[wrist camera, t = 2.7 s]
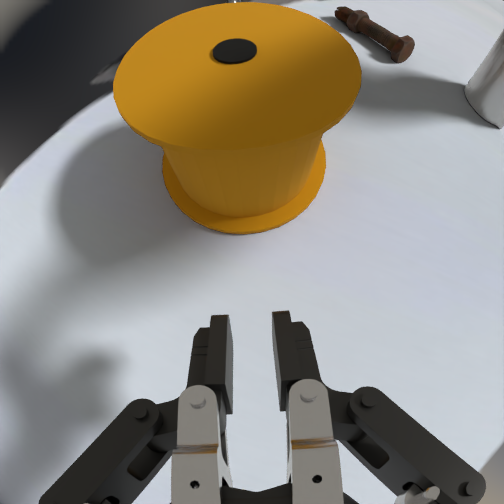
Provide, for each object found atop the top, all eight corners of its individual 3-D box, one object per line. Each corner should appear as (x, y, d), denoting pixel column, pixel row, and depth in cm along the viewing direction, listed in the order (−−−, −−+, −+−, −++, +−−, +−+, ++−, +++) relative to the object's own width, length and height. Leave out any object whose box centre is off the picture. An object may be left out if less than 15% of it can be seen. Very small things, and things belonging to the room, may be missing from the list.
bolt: (338, 25, 41) (402, 66, 38) (325, 19, 38) (393, 62, 35) (351, 3, 37) (418, 43, 33) (339, -4, 34) (411, 36, 30)
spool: (349, 141, 32) (389, 45, 17) (270, 268, 28) (284, 207, 14) (224, 83, 35) (212, -11, 20) (133, 183, 31) (69, 98, 17)
